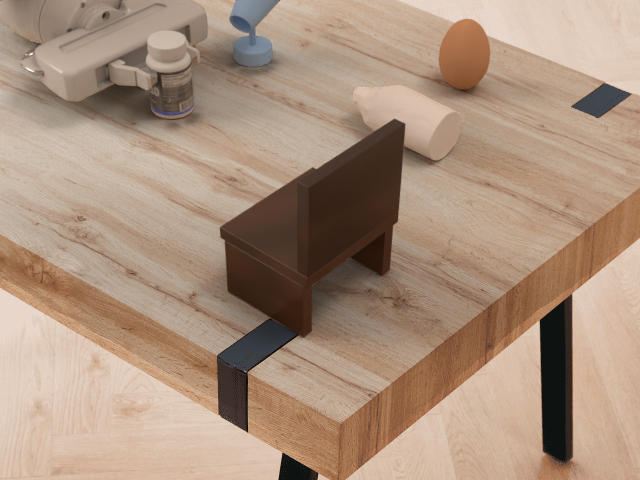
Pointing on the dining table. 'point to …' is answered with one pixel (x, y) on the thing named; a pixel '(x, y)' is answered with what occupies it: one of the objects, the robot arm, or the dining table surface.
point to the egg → (464, 54)
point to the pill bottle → (170, 75)
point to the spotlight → (251, 32)
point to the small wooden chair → (317, 228)
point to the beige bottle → (411, 118)
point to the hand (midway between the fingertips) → (175, 70)
